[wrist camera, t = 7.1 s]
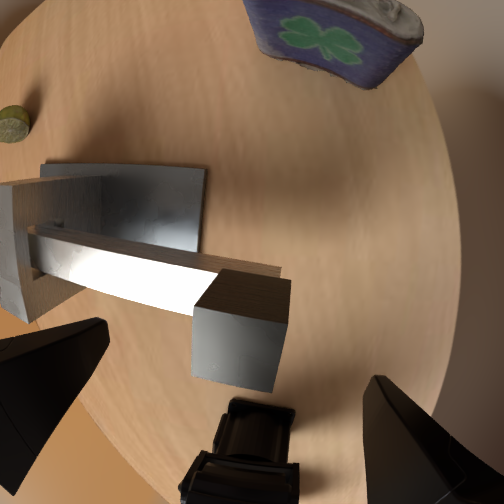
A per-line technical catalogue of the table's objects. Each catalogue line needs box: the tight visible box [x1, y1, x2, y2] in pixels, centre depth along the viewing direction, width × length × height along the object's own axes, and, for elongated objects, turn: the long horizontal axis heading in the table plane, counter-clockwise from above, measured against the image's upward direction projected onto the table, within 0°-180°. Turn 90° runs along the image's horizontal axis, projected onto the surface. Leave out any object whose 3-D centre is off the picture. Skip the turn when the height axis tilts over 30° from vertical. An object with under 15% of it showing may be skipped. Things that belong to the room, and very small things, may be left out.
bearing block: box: [0, 163, 207, 324], centre depth 17 cm, size 18×11×10 cm, turn 83°
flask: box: [243, 0, 424, 90], centre depth 11 cm, size 9×3×11 cm, turn 70°
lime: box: [0, 105, 30, 143], centre depth 18 cm, size 4×5×5 cm
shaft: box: [27, 223, 291, 393], centre depth 13 cm, size 18×3×6 cm, turn 83°
